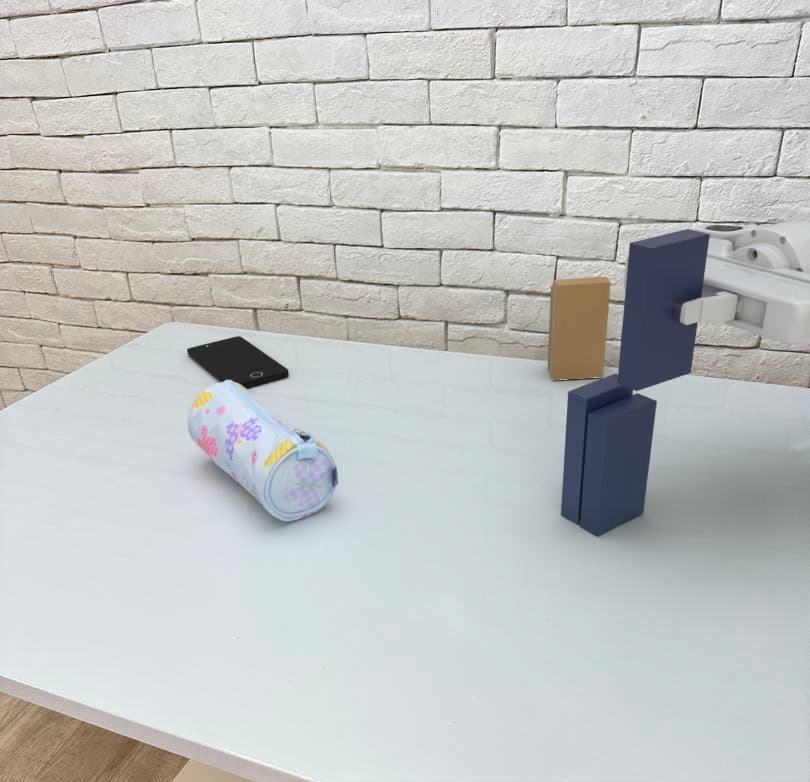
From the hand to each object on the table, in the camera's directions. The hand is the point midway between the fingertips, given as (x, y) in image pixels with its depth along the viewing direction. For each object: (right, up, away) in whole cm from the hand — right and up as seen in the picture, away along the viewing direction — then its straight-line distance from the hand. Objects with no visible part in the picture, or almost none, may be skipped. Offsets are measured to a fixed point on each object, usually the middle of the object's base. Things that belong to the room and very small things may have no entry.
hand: (661, 307), depth 72 cm
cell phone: (-46, +6, +54) cm, 71 cm away
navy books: (-2, -17, +15) cm, 23 cm away
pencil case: (-37, -14, +24) cm, 46 cm away
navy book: (0, -5, +3) cm, 6 cm away
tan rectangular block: (+2, +3, +45) cm, 45 cm away
